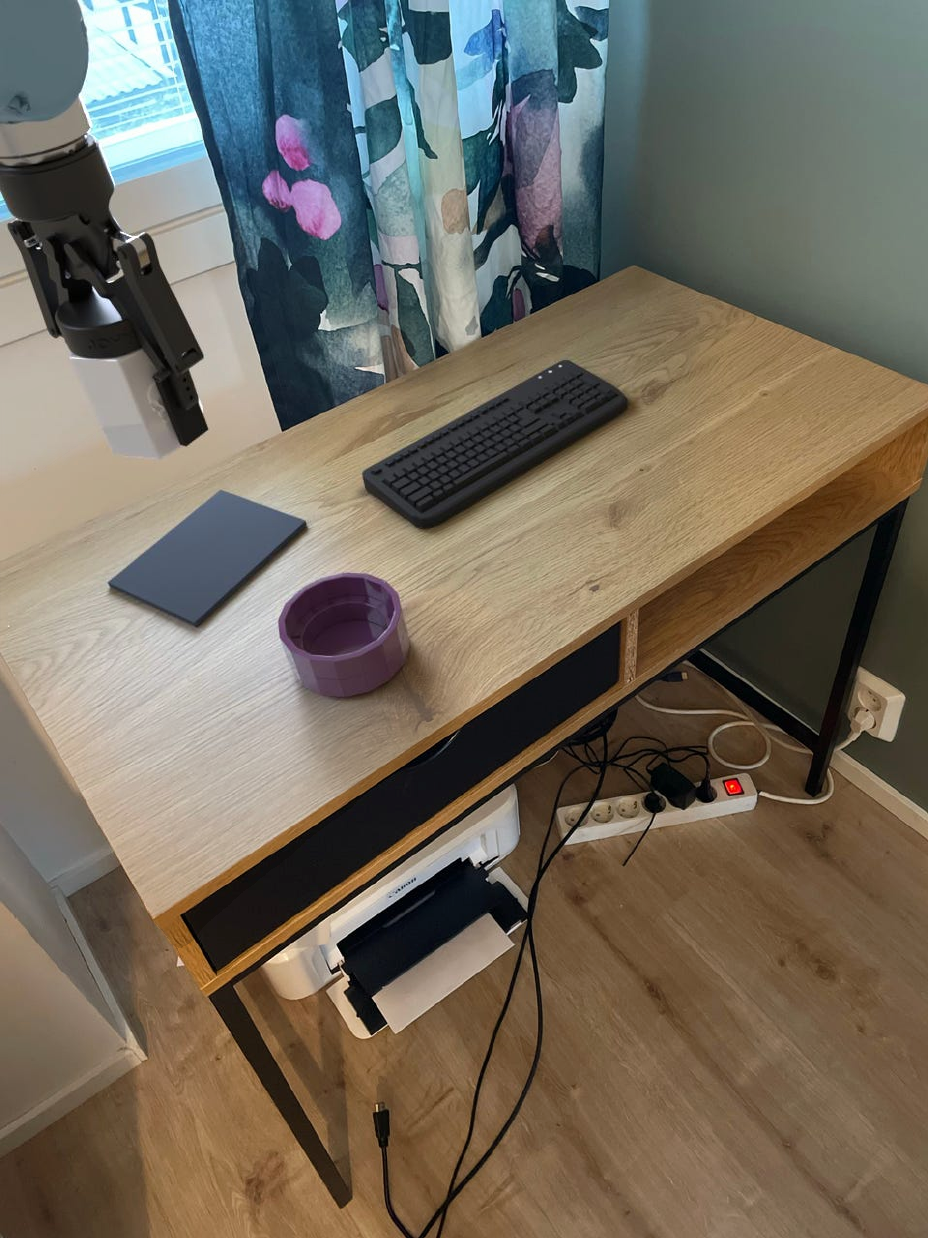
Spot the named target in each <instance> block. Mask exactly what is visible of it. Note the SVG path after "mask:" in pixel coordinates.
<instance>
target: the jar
mask: <svg viewBox="0 0 928 1238" xmlns="http://www.w3.org/2000/svg"><path fill="white" fill-rule="evenodd" d="M113 281H114V280H111V281H108V282H109V283H111V282H113ZM92 287H93V286H92ZM55 319H56V322H57V324H58V326H59V329H60V331H61V333H62V335H63V337H64V338H63V337H62V338H63V340H64V339H65V340H64V343H65V342H66V343H65V344H66V346H67V348H68V350H69V355H68V356H69V357H68V359H69V361H70V364H71V366H72V368H73V370H74V371H75V375H76V376H77V379H78V381H79V383H80V385H81V388H82V389H83V392H84V393H85V395H86V398H87V400H88V403H89V404H90V407H91V408H92V411H93V413H94V415H95V417H96V419H97V421H98V424H99V426H100V428H101V430H102V433H103V435H104V436H105V439H106V441H107V443H108V446H109V448H110V449H111V451H112V453H113V455H115V456H118V457H120V456H121V457H128V458H141V459H152V460H162V459H164V458H165V457H168V456H170V455H171V454H173V453H175V452H176V451H178V450H180V449H182V448H184V447H185V446H183V445H180V443H179V441H178V438H177V436H176V433H175V431H174V428H173V426H172V423H171V421H170V418H169V416H168V413H167V411H166V408H165V406H164V403H163V401H162V398H161V396H160V393H159V391H158V388H157V386H156V383H155V381H154V379H153V378H152V377H153V375H155V374H156V373H158V370H157V369H156V367H155V366H154V364H153V363H152V362H151V360H150V359H149V357H148V356H147V354H146V353H145V351H144V350H143V348H142V347H141V346H140V344H139V343H138V341H137V340H136V337H135V335H134V332H133V330H132V327H131V325H130V322H129V320H128V319H127V318H123V317H121V316H120V315H119V313H118V312H117V311H116V309H115V308H114V306H113V305H112V303H111V302H110V301H109V300H108V299H104V298H102V297H100V296H99V295H98V293H97V292H96V290H95V289H94V287H93V290H91V291H89V292H88V293H86V294H84V295H82V296H81V297H79V298H77V299H76V300H74V301H72V302H70V303H67V302H63V303H62V304H61V305H60V307H59V308H58V309H57V312H56V315H55ZM165 359H166V357H165ZM189 372H190V374H191V371H190V370H189ZM191 377H192V374H191ZM192 380H193V377H192ZM193 383H194V385H195V388H196V391H197V394H198V396H199V393H198V390H197V387H196V384H195V381H194V380H193ZM200 398H201V397H200V396H199V405H200V407H201V410H202V413H203V414H204V406H203V404H202V401H201V399H200ZM205 433H206V432H205ZM205 433H204V434H202V435H201V436H200V437H198V438H197V439H196V440H198V439H200V438H202V437H203V436H205Z"/></svg>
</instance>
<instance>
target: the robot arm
mask: <svg viewBox="0 0 928 1238" xmlns="http://www.w3.org/2000/svg"><path fill="white" fill-rule="evenodd" d="M87 33H88V28H87V26H86V23H85V20H84V14H83V11H82V8H81V5H80V3H79V0H0V195H1V197H2V198H3V201H4V203H5V205H6V208H7V209H8V211H9V213H10V214H11V215H12V216H13V217H15V219H14V220H12V221H10V222H8V223H7V225H6V227H7V229H8V232H9V234H10V236H11V237H12V239H13V241H14V243H15V245H16V246H17V248H18V250H19V252H20V254H21V257H22V260H23V263H24V266H25V268H26V272H27V274H28V277H29V281H30V283H31V286H32V289H33V292H34V295H35V298H36V300H37V303H38V307H39V310H40V313H41V316H42V318H43V321H44V323H45V326H46V329H47V332H48V333H49V335H50V336H51V337H52V338H54V339H58V338H60V337H61V338H62V339H63V340H64V343H65V344H66V342H65V339H64V337H63V335H62V333H61V331H60V329H59V326H58V324H57V322H56V319H55V315H56V312H57V309H58V308H59V307H60V305H61V304H62V303H63V302H67V303H70V302H72V301H74V300H76V299H77V298H79V297H81V296H82V295H84V294H86V293H88V292H89V291H91V290H93V287H94V289H95V290H96V292H97V293H98V295H99V296H100V297H102V298H104V299H108V300H109V301H110V302H111V303H112V305H113V306H114V308H115V309H116V311H117V312H118V313H119V315H120V316H121V317H123V318H127V319H128V320H129V322H130V325H131V327H132V330H133V332H134V335H135V337H136V340H137V341H138V343H139V344H140V346H141V347H142V348H143V350H144V351H145V353H146V354H147V356H148V357H149V359H150V360H151V362H152V363H153V364H154V366H155V367H156V369H157V370H158V373H156V374H155V375H153V377H152V378H153V379H154V381H155V383H156V386H157V388H158V391H159V393H160V396H161V398H162V401H163V403H164V406H165V408H166V411H167V413H168V416H169V418H170V421H171V423H172V426H173V428H174V431H175V433H176V436H177V438H178V441H179V443H180V445H183V446H184V447H186V448H187V447H188V446H190V444H192V443H193V442H195V441H196V440H198V439H199V438H198V437H200V436H201V435H202V434H204V433H207V431H209V427H208V424H207V421H206V418H205V416H204V412H203V413H202V410H201V407H200V405H199V398H200V396H198V395H199V393H198V390H197V387H196V384H195V382H194V380H192V379H193V377H191V376H192V374H190V373H191V371H190V369H191V368H193V367H194V366H196V365H197V364H198V363H200V362H201V361H203V360H204V358H205V356H204V351H203V350H202V348H201V346H200V344H199V341H198V340H197V338H196V336H195V333H194V332H193V330H192V327H191V326H190V323H189V321H188V319H187V317H186V315H185V313H184V312H183V309H182V307H181V305H180V303H179V300H178V299H177V297H176V295H175V293H174V291H173V289H172V287H171V285H170V283H169V280H168V279H167V276H166V275H165V273H164V270H163V269H162V266H161V264H160V260H159V257H158V251H157V249H156V245H155V241H154V239H153V238H152V236H151V234H150V233H148V232H142V233H140V234H138V235H137V236H132V235H130V234H126V233H124V232H123V229H122V228H121V226H120V225H119V223H118V222H117V220H116V219H115V217H114V215H113V214H112V212H111V209H110V202H111V199H112V197H113V195H114V193H115V191H116V184H115V180H114V177H113V175H112V173H111V169H110V167H109V164H108V161H107V158H106V156H105V154H104V151H103V148H102V145H101V142H100V141H99V139H98V138H97V137H95V136H94V135H93V134H91V133H89V132H90V131H91V129H92V126H93V123H92V121H91V118H90V115H89V113H88V110H87V107H86V105H85V102H84V99H83V98H82V94H81V93H82V92H83V90H84V87H85V84H86V81H87V78H88V74H89V65H90V41H89V38H88V34H87ZM120 270H122V274H123V275H121V276H119V277H118V278H116V279H114V280H112V281H113V282H111V283H109V282H110V281H109V280H110V279H111V278H113V277H115V276H117V275H118V274H119V272H120ZM92 286H93V287H92ZM165 357H166V359H165ZM189 371H190V372H189ZM193 382H194V383H193ZM194 384H195V385H194ZM195 387H196V388H195ZM196 390H197V391H196ZM197 393H198V394H197ZM204 435H205V434H204ZM197 438H198V439H197ZM200 438H201V437H200Z"/></svg>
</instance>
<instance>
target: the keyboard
mask: <svg viewBox="0 0 928 1238" xmlns="http://www.w3.org/2000/svg"><path fill="white" fill-rule="evenodd" d="M628 407H629V400H628V398H627V397H626V395H625V394H624V393H623V392H622V391H621V390H620V389H619V388H617V386H615V385H613V384H612V383H610V382H608V381H606V380H605V379H603V378H601V377H599V376H597V375H595V374H594V373H592V372H591V371H589V370H587V369H586V368H584V367H582V366H580V365H578V364H576V363H575V362H574V361H572V360H570V359H562V360H560V361H558V362H556V363H554V364H553V365H551V366H549V367H547V368H545V369H543V370H541V371H540V372H537V373H536V374H534V375H533V376H531V377H528V378H527V379H525V380H524V381H522V382H520V383H518V384H516V385H515V386H513V387H511V388H509V389H508V390H505V391H504V392H502V393H500V394H499V395H497V396H495V397H493V398H490V399H489V400H487V401H485V402H484V403H482V404H480V405H479V406H477V407H475V408H473V409H472V410H469V411H467V412H466V413H464V414H462V415H461V416H459V417H457V418H455V419H453V420H452V421H450V422H448V423H446V424H444V425H443V426H441V427H439V428H437V429H435V430H434V431H431V432H430V433H429V434H426V435H425V436H423V437H421V438H419V439H417V440H416V441H414V442H412V443H410V444H409V445H406V446H405V447H403V448H401V449H400V450H398V451H395V452H394V453H393V454H391V455H388V456H386V457H385V458H383V459H382V460H380V461H378V462H376V463H374V464H372V465H370V466H369V467H367V468H365V469H364V470H363V471H362V473H361V476H362V477H361V478H362V481H363V485H364V489H365V490H366V491H367V492H368V493H370V494H371V495H372V496H374V497H375V498H377V499H378V500H379V501H381V502H382V503H383V504H385V505H386V506H388V507H389V508H390V509H392V510H393V511H394V512H396V513H397V514H398V515H399V516H401V517H402V518H404V519H405V520H406V521H408V522H409V523H411V524H412V525H413V526H415V527H416V528H419V529H422V530H423V529H431V528H434V527H437V526H439V525H441V524H443V523H444V522H446V521H448V520H450V519H452V518H453V517H455V516H456V515H458V514H460V513H462V512H463V511H465V510H466V509H468V508H469V507H471V506H473V505H474V504H476V503H477V502H479V501H481V500H483V499H484V498H486V497H487V496H489V495H491V494H492V493H494V492H496V491H497V490H499V489H500V488H502V487H504V486H505V485H507V484H509V483H510V482H512V481H514V480H516V479H517V478H519V477H520V476H522V475H524V474H525V473H527V472H529V471H530V470H532V469H533V468H535V467H537V466H538V465H540V464H542V463H543V462H545V461H546V460H548V459H550V458H552V457H553V456H555V455H556V454H558V453H560V452H561V451H563V450H564V449H566V448H568V447H570V446H571V445H573V444H574V443H576V442H578V441H579V440H581V439H583V438H585V437H586V436H588V435H589V434H591V433H593V432H594V431H597V430H598V429H599V428H601V427H603V426H604V425H605V424H608V423H609V422H611V421H613V420H614V419H616V418H617V417H619V416H620V415H622V414H624V412H625V411H627V410H628Z"/></svg>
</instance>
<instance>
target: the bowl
mask: <svg viewBox="0 0 928 1238" xmlns="http://www.w3.org/2000/svg"><path fill="white" fill-rule="evenodd" d="M277 625H278V636H279V640H280V642H281V645H282V647H283V651H284V653H285V656H286V658H287V661H288V664H289V667H290V669H291V673H292V674H293V675H294V677H295V678H296V679H297V681H299V683H300V685H302V687H304V688H306V689H308V690H310V691H313V692H315V693H317V694H319V695H321V696H323V697H324V696H327V697H339V698H347V697H348V698H349V697H352V696H356V695H360V694H365V693H369V692H371V691H373V690H375V689H376V688H379V687H380V686H382V685H383V684H385V683H386V682H387V683H388V682H389V681H390V680H391V679H392V678H393V677H394V676H395V675H396V674H397V673H398V672H399V670H400V669H401V668H402V666H403V665H404V664H405V663H406V660H407V656H408V653H409V650H410V646H411V644H410V639H409V634H408V630H407V625H406V621H405V617H404V612H403V608H402V604H401V598H400V594H399V593H398V592H397V590H395V588H393V587H392V586H391V585H390V584H389V582H388V581H386V579H385V580H384V579H383V578H380V577H378V576H375V575H372V574H371V573H366V572H365V573H364V572H349V571H348V572H340V573H334V574H330V575H327V576H322V577H319V578H317V579H316V580H314V581H312V582H309V583H308V584H306V585H304V586H302V587H301V588H300V589H298V591H296V592H295V593H294V594H293V595H292V596H291V597H290V598H289V599H288V600H287V601H286V602H285V603H284V606H283V607H282V610H281V612H280V615H279V617H278V619H277Z"/></svg>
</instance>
